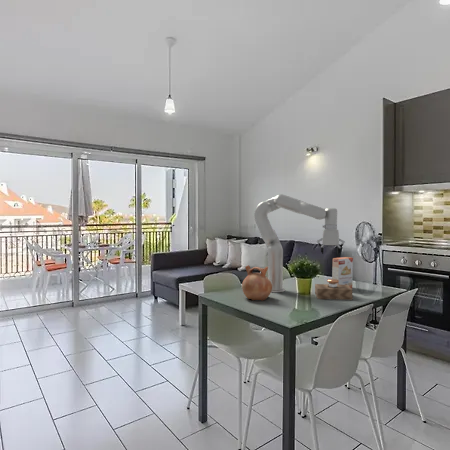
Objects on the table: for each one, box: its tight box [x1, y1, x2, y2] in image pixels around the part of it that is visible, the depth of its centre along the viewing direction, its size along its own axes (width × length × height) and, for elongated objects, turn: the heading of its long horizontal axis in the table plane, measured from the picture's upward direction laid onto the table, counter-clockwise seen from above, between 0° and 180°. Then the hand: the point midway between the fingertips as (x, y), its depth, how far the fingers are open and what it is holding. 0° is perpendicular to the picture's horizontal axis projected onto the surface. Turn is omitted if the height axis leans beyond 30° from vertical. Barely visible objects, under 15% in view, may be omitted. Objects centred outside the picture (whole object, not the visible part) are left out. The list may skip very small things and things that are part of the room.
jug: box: [241, 264, 272, 301], centre depth 213 cm, size 18×18×20 cm
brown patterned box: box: [314, 283, 353, 301], centre depth 217 cm, size 20×14×6 cm
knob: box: [326, 278, 339, 288], centre depth 217 cm, size 7×7×7 cm
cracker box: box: [331, 256, 354, 289], centre depth 239 cm, size 14×6×21 cm, turn 120°
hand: (330, 253), depth 228 cm, fingers open, 9 cm apart
